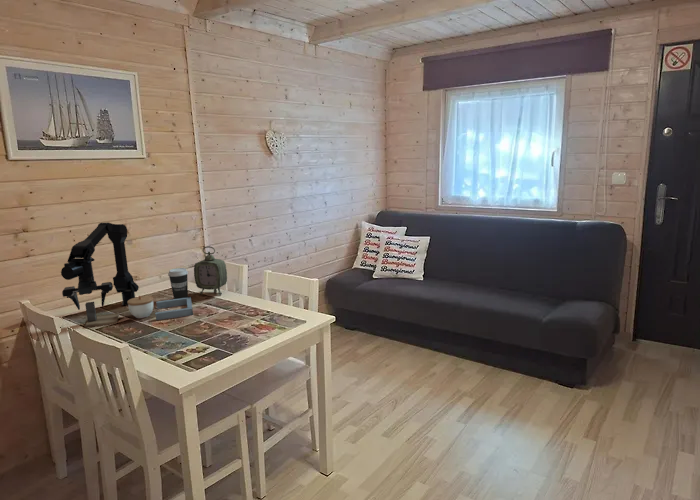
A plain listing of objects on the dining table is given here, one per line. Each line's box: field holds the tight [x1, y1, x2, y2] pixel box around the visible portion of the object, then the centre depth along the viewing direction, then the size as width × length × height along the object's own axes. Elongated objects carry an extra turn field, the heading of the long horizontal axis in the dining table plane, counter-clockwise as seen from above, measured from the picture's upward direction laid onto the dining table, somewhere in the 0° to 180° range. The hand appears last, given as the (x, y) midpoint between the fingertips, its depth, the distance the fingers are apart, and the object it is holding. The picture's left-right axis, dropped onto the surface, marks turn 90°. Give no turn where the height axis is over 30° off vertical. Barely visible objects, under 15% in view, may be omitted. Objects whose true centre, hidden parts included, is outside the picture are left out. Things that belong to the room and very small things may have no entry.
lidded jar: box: [127, 295, 154, 319], centre depth 214 cm, size 11×11×9 cm
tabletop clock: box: [193, 245, 228, 296], centre depth 242 cm, size 14×9×25 cm, turn 76°
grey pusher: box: [84, 301, 120, 329], centre depth 208 cm, size 12×12×10 cm
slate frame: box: [154, 296, 194, 321], centre depth 219 cm, size 19×16×3 cm
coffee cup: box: [167, 267, 189, 299], centre depth 236 cm, size 10×10×15 cm
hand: (91, 307), depth 207 cm, fingers open, 9 cm apart
